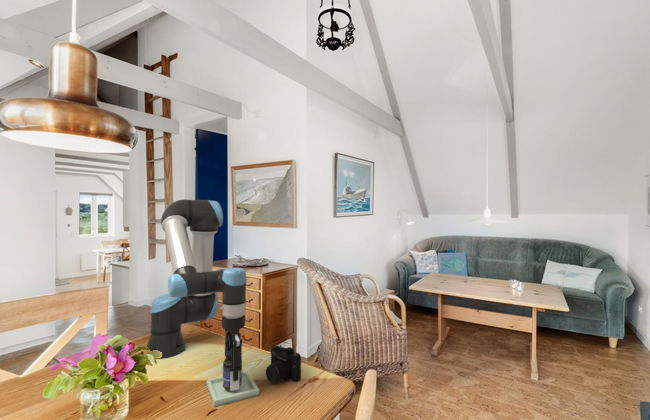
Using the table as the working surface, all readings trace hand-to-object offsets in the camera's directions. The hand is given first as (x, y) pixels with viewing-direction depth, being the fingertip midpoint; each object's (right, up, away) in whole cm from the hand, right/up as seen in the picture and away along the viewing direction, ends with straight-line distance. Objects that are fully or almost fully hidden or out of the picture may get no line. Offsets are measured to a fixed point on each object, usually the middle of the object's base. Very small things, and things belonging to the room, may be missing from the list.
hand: (232, 384), depth 108 cm
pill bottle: (0, -1, 0) cm, 1 cm away
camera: (+15, -3, +9) cm, 17 cm away
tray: (0, -2, 0) cm, 2 cm away
